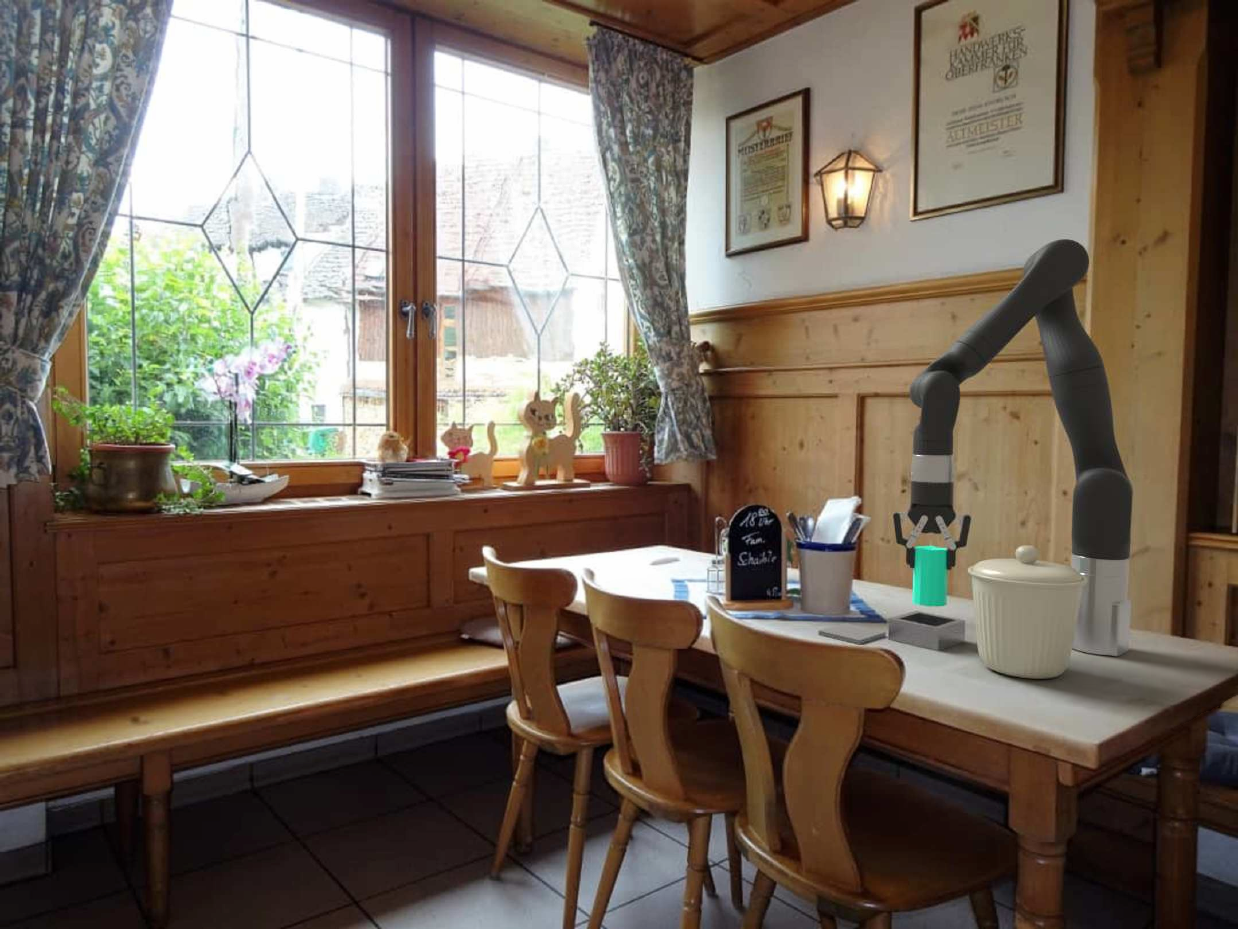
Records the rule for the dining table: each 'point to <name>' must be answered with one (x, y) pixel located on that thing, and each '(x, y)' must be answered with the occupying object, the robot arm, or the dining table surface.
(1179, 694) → the dining table surface
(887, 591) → the dining table surface
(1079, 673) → the dining table surface
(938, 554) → the candle
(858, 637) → the coaster
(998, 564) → the canister
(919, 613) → the grey open box
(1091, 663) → the dining table surface
